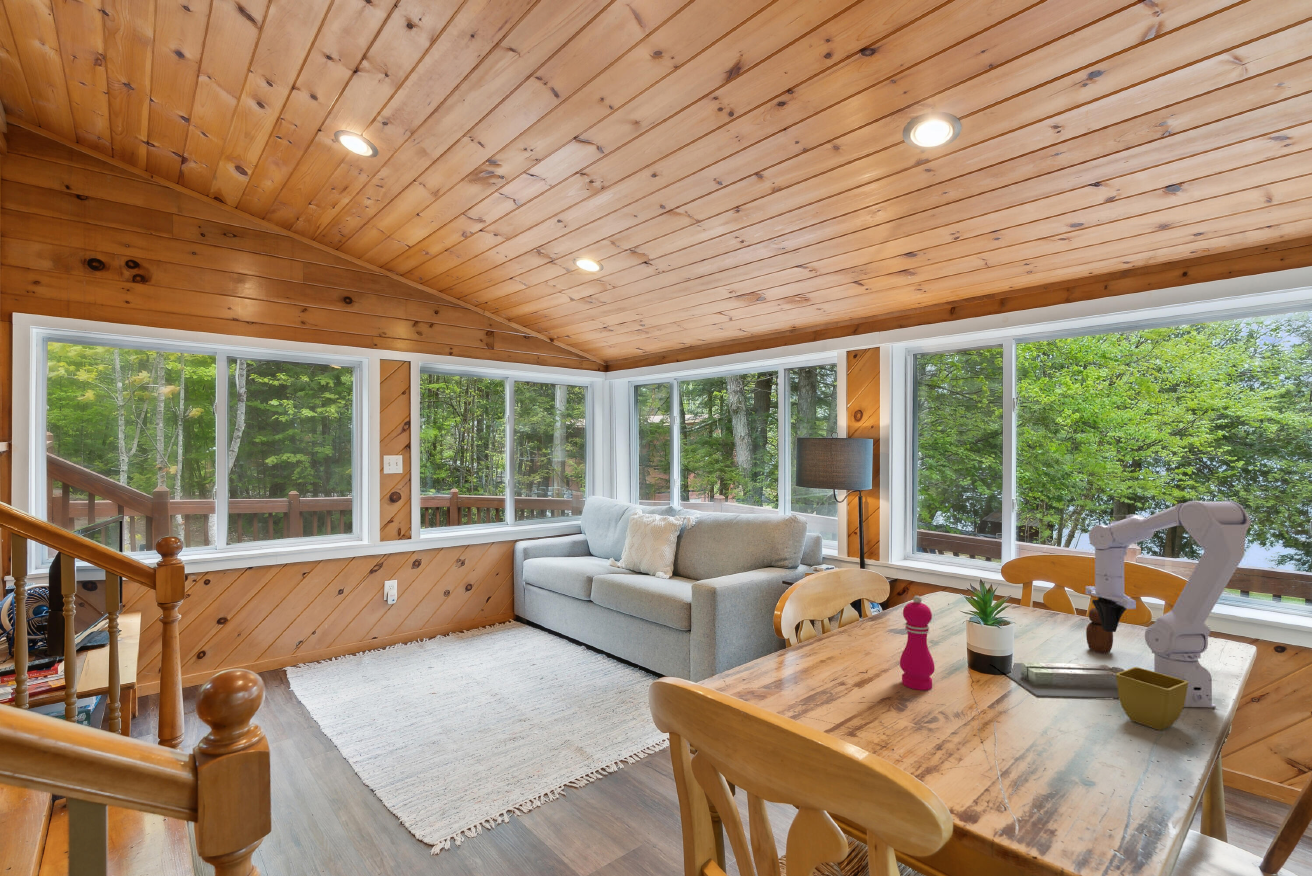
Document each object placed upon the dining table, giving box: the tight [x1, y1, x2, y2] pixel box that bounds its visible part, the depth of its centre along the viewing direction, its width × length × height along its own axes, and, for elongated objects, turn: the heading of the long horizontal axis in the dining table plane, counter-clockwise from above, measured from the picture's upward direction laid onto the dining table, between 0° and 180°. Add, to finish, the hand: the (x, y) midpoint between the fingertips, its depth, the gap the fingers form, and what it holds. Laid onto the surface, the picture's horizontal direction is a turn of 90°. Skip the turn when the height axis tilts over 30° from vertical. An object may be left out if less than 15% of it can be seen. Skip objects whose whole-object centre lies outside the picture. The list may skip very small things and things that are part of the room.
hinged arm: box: [1020, 661, 1125, 680], centre depth 139 cm, size 21×4×3 cm, turn 88°
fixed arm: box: [1028, 668, 1117, 688], centre depth 137 cm, size 18×2×3 cm, turn 88°
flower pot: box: [1116, 666, 1188, 731], centre depth 119 cm, size 9×9×9 cm
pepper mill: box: [899, 595, 935, 691], centre depth 137 cm, size 7×7×20 cm
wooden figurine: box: [1085, 607, 1114, 654], centre depth 162 cm, size 7×6×15 cm
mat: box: [1006, 662, 1119, 700], centre depth 140 cm, size 20×27×1 cm
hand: (1109, 631), depth 148 cm, fingers closed
